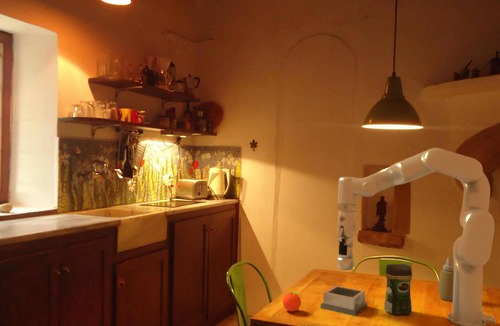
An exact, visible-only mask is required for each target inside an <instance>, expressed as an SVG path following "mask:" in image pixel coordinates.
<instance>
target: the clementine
mask: <svg viewBox="0 0 500 326" xmlns="http://www.w3.org/2000/svg"><path fill="white" fill-rule="evenodd" d="M282 298H283V299H282V306H283V307H284V309H285V310H286V311H288V312H291V313H293V312H296V311H298V310H299V309H300V307H301V305H302V301H301V298H302V299H303V296H302V295H299V292H288V293H286V294H285V295H284V296H283V297H282Z"/></svg>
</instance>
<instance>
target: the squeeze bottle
mask: <svg viewBox="0 0 500 326" xmlns="http://www.w3.org/2000/svg"><path fill="white" fill-rule="evenodd" d="M453 277H454V265H453V263H452V257H450V256H448V257H447V258H446V261H445V264H443V265H442V269H441V270H440V273H439V279H438V285H437V291H438V294H439V298H440V299H441V300H444V301H449V302H453Z"/></svg>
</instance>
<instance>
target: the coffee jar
mask: <svg viewBox="0 0 500 326" xmlns="http://www.w3.org/2000/svg"><path fill="white" fill-rule="evenodd" d="M384 273H385V277H386V291H385V299H384V310H385V312H387V314H391V315H394V316H405V315H407V316H408V315H411V314H412V299H411V298H412V297H411V296H412V295H411V281H412V278H413V272H412V267H411V266H410V265H408V264H406V263H396V264H393V263H391V264H386V266H385V272H384Z"/></svg>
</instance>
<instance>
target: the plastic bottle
mask: <svg viewBox="0 0 500 326" xmlns="http://www.w3.org/2000/svg"><path fill="white" fill-rule="evenodd" d="M354 234H355V233H354V231H353V233H352V237H351V238H348V237H347V244H346V245H347V255H346V256H345V255H339V250H337V251H338V253H337V258H336V266H337V268H338V269H339V270H343V271H350V270H353V268H354V265H355V260H354V253H353V251H354V250H353V249H354V248H353V247H354V239H355V236H354ZM342 237H346V236H345V235H343V236H342ZM343 239H344V238H343ZM344 241H345V239H344ZM338 242H339V239H338Z"/></svg>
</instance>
